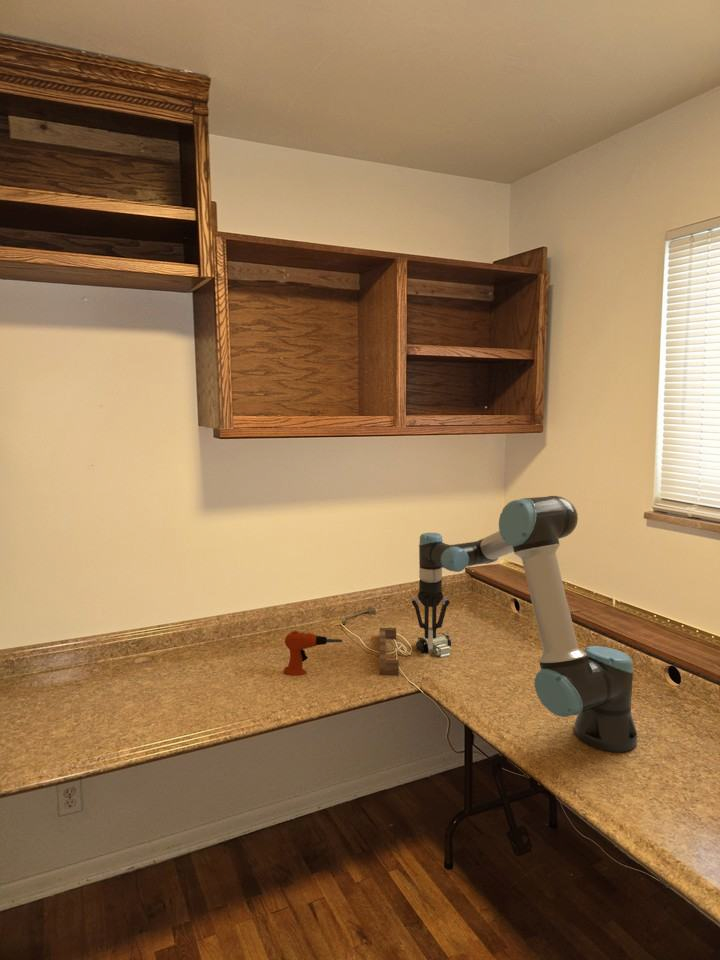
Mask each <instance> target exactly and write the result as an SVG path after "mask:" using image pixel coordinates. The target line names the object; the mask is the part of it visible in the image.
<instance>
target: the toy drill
mask: <svg viewBox="0 0 720 960" xmlns="http://www.w3.org/2000/svg"><path fill="white" fill-rule="evenodd" d="M327 643H343V639H340V638H337V639H336V638H328V637H326V636H323V635H322V636H321V635H317V634H313V633H310V632H308V633H306V632H299V631H298V630H293V631H292V630H291V632H290V633H288V634H287V635H286V636H285V639H284V644H285V646H286V647H287V649H288V650H289V661H288V665H287V666H286V667H284V669H283V674H284V675H286V676H291V677H293V676H294V677H300V676H305V675H307V673H308V672H307V670H305V669H304V668H303V662H304V661H306V660H308V658H309V656H307V655H306V651H305V649H309V648H313V647H317V646H321V645H326V644H327Z"/></svg>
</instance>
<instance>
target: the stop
mask: <svg viewBox="0 0 720 960" xmlns="http://www.w3.org/2000/svg"><path fill="white" fill-rule="evenodd" d="M386 640H397V627H379V676H393V677H396V676H398V677H399V676H400V674H399V671H400V670H399V668H400V666H399V665H400V661H399V659H387V651H386V650H387V648H386V645H387V643H386Z"/></svg>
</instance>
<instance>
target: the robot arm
mask: <svg viewBox="0 0 720 960" xmlns="http://www.w3.org/2000/svg"><path fill="white" fill-rule="evenodd" d="M578 515H579V514H578V511H577V509H576V507H575V506H574V504H573V503H572V502H571V501H569V500H568V499H566V498H565V497H562V496H558V495H548V496H538V497H524V498H520V499H514V500H512V501H510V502H508V503H506V504H505V506H504V507H503V508H502V511H501V513H500V514H499V519H498V531H496V532H493V533H492V534H490V535H487V536H485V537H483V538H480V539H479V540H476V541H470V542H462V543H457V544H447V543H445V542H444V541H443V535H442V534H441V533H437V532H423V533H422V534H420V536H419V544H418V550H419V551H418V553H419V554H418V558H419V559H418V560H419V563H418V564H419V568H418V569H419V572H418V573H419V575H418V576H419V581H418V582H419V583H418V588H419V589H418V590H419V591H418V593H417V596H416V597H415V598H411V599H410V601H411V604H412V606H413V607H414V609H415V613H416V618H417V622H418V626H419V629H420V628H421V629H424V634H423V636H425V639H428V649H433V639H435V638H436V634H437V629H441V628H442V627H443V623H444V618H445V615H446V611H447V607H449V605H450V599H449V598H448V597H445V596H444V595H443V586H442V585H443V581H442V579H443V569H444V570H447V571H449V572H454V573H460V572H462V571H464V570H465V569H466V568H467V567H472V566H478V565H484V564H491V563H494V562H497V561H498V560H499V558H501V557H503V556H506V555H508V554H511V553H513V554H514V555H515V556H518V558H520V559H521V561H522V565H523V570H524V574H525V575H524V576H525V580H526V583H527V586H528V592H529V595H530V600H531V604H532V610H533V614H534V618H535V621H536V625H537V631H538V636H539V639H540V642H541V647H542V651H543V652H542V654H541V657H540V658H539V659H538V662H539V666H540V667H539V668H540V670H539V671H538V672H537V673H536V675H535V678H534V681H533V683H534V689H535V692H536V695H537V697H538V700H539V701H540V702H541V704H542V705H543V707H545V708H546V709H547V710H548V711H549V712H550V713H552V714H553V715H555V716H557V717H562V718H565V717H570V716H576V718H575V721H574V734H575V736H576V737H577V738H578V739H579V740H580V741H581V742H582V743H583V744H585V745H587V746H590V748H591V747H592V748H594V749H597V750H601V751H605V752H611V753H623V752H627V751H631V750H633V749H634V748H635V747H636V746H637V745H638V731H637V728H636V725H635V722H634V718H633V715H632V700H633V699H632V697H633V677H634V662H633V659H632V658H631V656H630V655H628V654H627V653H625V652H623V651H621V650H618V649H614V648H612V647H607V646H600V645H591V646H587V647H586V648H584V650H582V649H581V648H580V647H579V645H578V640H577V636H576V633H575V631H576V630H575V628H574V624H573V620H572V616H571V612H570V607H569V603H568V600H567V595H566V592H565V587H564V583H563V579H562V575H561V570H560V566H559V562H558V558H557V554H556V553H557V550H558V549H559V547H560V539H563V538H566V537H568V536H570V534H572V533H573V532H574V531H575V529H576V528H577V525H578V520H579V518H578ZM419 603H421V604H422V606H423V607H424V611H423V613H424V617H423V618H424V620H423V619H422V615H421V611H420V607H419ZM440 603H442V604H441V609H440V612H439V616H438V620H437V606H439V604H440ZM429 608H431V627H430V626H429V622H430V621H429V619H430V617H429V613H430V612H429V611H430V609H429ZM423 621H424V623H423Z"/></svg>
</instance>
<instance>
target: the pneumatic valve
mask: <svg viewBox="0 0 720 960" xmlns="http://www.w3.org/2000/svg"><path fill="white" fill-rule="evenodd" d="M451 646H452V640H451V637H450V636H449V635H448V634H445V633H444V632H438V633H437V632H436V638H435V639H433V649H428V639H425V636H424V635H423V636H418V637H417V641H416V643H415V648H416V650H417V651H418V652H420V653H421V654H422V653H425V654H427V655H428V654H432V653H433V654H435V656H438V657H439V658H441V659H442V658H446V657H450V656H451V654H450V653H451V651H452V649H451Z"/></svg>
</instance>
